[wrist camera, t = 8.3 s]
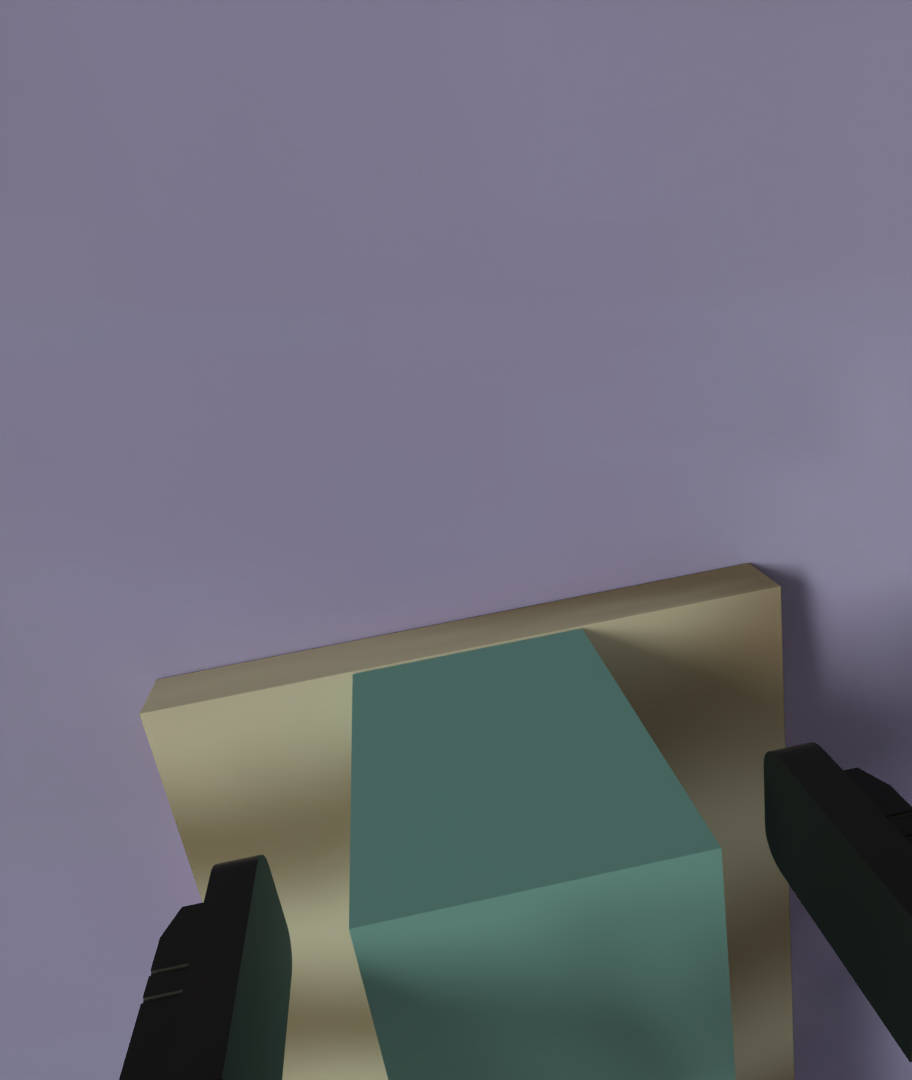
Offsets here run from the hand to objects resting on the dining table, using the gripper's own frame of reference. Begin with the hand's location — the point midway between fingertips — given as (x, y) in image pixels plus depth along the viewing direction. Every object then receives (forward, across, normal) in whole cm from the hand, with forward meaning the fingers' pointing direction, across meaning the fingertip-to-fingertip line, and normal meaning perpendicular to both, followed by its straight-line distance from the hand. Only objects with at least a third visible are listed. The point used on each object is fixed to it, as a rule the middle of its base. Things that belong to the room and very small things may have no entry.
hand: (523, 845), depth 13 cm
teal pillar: (+5, 0, +8) cm, 9 cm away
